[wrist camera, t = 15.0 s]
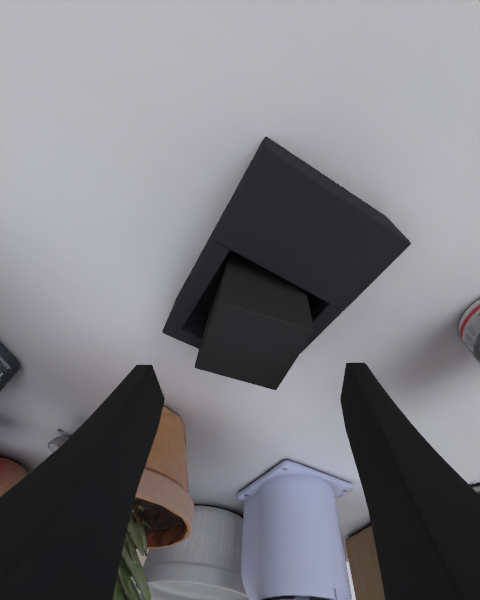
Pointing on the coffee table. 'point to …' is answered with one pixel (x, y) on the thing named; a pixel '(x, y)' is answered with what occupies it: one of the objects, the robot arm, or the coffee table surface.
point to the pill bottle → (471, 329)
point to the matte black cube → (254, 325)
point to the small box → (7, 367)
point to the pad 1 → (291, 241)
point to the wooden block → (365, 566)
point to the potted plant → (157, 506)
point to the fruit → (10, 474)
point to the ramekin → (200, 561)
